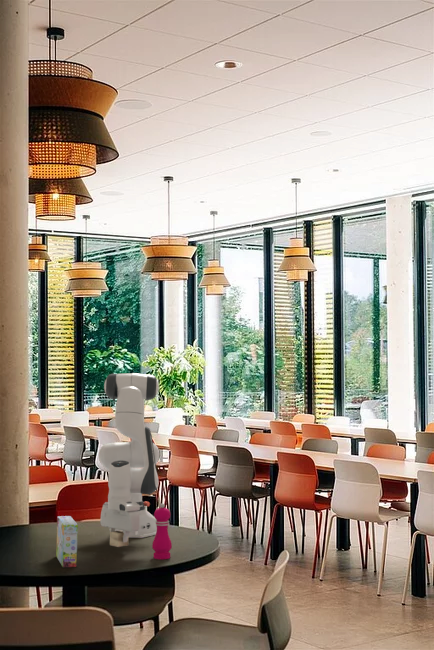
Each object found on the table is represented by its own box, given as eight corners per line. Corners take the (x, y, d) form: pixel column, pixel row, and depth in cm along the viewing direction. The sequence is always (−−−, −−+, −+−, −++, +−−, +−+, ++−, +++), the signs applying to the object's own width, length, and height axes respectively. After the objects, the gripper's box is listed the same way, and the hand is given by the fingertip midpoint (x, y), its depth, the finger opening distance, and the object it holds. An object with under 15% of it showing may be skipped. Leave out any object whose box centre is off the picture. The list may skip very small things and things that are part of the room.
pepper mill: (156, 560, 333) (157, 505, 334) (149, 556, 339) (149, 502, 340) (174, 558, 336) (175, 504, 337) (166, 555, 343) (167, 501, 344)
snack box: (78, 567, 321) (78, 524, 322) (62, 568, 319) (62, 524, 320) (70, 555, 341) (70, 515, 342) (55, 556, 340) (55, 515, 341)
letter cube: (120, 543, 350) (120, 529, 350) (128, 545, 346) (128, 531, 347) (109, 545, 346) (109, 531, 347) (117, 546, 343) (118, 532, 343)
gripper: (96, 502, 353) (96, 538, 352) (129, 507, 338) (129, 545, 337) (109, 500, 357) (109, 536, 356) (142, 506, 342) (142, 543, 341)
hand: (119, 540), depth 346 cm, fingers closed on letter cube, 5 cm apart
